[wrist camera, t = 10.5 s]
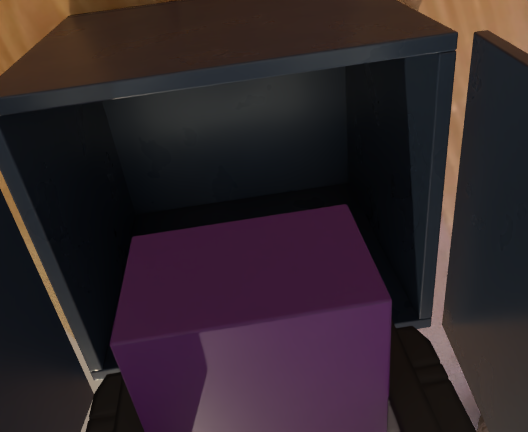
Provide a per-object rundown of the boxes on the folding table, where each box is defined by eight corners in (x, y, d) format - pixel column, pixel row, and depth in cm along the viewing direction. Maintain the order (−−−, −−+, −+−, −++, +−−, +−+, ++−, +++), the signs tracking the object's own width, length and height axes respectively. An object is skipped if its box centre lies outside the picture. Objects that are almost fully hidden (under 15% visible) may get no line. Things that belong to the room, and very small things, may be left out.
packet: (353, 413, 14) (386, 524, 12) (195, 438, 14) (193, 557, 12) (347, 202, 10) (393, 300, 8) (130, 235, 10) (107, 345, 8)
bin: (130, 218, 29) (51, 569, 14) (67, 15, 23) (-192, 242, 8) (368, 182, 29) (546, 485, 14) (368, -27, 23) (676, 112, 8)
